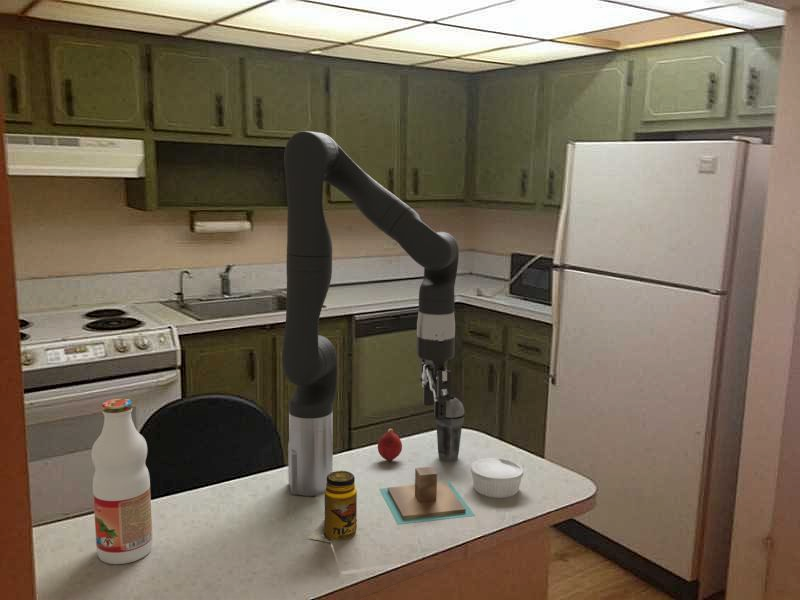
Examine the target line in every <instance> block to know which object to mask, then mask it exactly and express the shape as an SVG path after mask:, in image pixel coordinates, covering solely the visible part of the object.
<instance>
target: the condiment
mask: <svg viewBox="0 0 800 600" xmlns="http://www.w3.org/2000/svg"><path fill="white" fill-rule="evenodd" d="M355 478H356V477H355V475H354V474H353V473H352V472H350V471H346V470H336V471H333V472H332V473H330V474H329V475H328V476H327V479H326V480H327V484H326V489H325V492H324V519H323V521H321V523H320V525H318V527H317V528H316V529H315V530H314V532H312V533H311V535H309V537H308V538H307V539H308V540H314V541H320V542H326V543H330V544H333V540H335V541H343V540H349V539H351V538H353V537H354V536H355V535H356V533H357V530H358V529H357V527H358V526H357V525H358V524H357V522H358V519H357V516H358V513H357V512H358V511H357V510H358V509H357V508H358V507H357V504H358V502H357V500H358V498H357V497H358V494H357V493H358V490H357V488H356V482H355ZM323 535H324V536H323Z"/></svg>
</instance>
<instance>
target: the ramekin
mask: <svg viewBox="0 0 800 600" xmlns="http://www.w3.org/2000/svg"><path fill="white" fill-rule="evenodd" d="M470 465H471V466H470V472H471V475H472V484H473V488H474V490H475V491H476V492H477V493H479V494H480V495H483V496H486V497H490V498H496V499H498V498H499V499H501V498H503V499H504V498H509V497H513V496H515V495H516V494H517V493H518V492H519V489H520V486H521V481H522V478H523V477H524V468H522V466H521V465H520V464H518V463H517V462H514V461H512V460H509V459H504V458H499V457H498V458H497V457H487V458H481V459H478V460H475V461H474V462H472V463H471V464H470Z"/></svg>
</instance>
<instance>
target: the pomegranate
mask: <svg viewBox="0 0 800 600" xmlns="http://www.w3.org/2000/svg"><path fill="white" fill-rule="evenodd" d="M402 443H403V442H402V440H401V438H400V437H399V435H397V434H396V433H395V432H394V430H393V429H392V428H389V429H388V430H387V431H386V433H383V435H381V436H380V438H379V440H378V442H377V450H378V454H379V455H380V457H382V458H383V459H384V460H385V461H387V462H392V461H393V460H395V459H396V458H397V457H398V456H400V454H401V453H402V450H403V444H402Z"/></svg>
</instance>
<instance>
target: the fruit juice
mask: <svg viewBox="0 0 800 600" xmlns="http://www.w3.org/2000/svg"><path fill="white" fill-rule="evenodd" d="M133 407H134V406H133V401H132V400H131V399H128V398H114V399H113V398H112V399H108V400H105V401H104V402H103V403H102V404H101V410H102V414H103V415H104V420H103V421H104V422H103V425H102V426H103V427H102V430H101V432H100V435H99V436H98V438H97V439H96V440H95V442H94V443H93V446H92V447H91V459H92V460H91V461H92V463H93V466H94V468H95V472H94V475H93V478H92V496H93V512H94V527H95V541H96V542H95V543H96V553H97V556H98V558H99V560H100V561H102V562H103V563H106V564H110V565H124V564H129V563H133V562H136V561H138V560H141V559H143V558H144V557H146V556H147V555H148V554H149V553H150V552H151V550H152V548H153V545H154V544H153V541H154V539H153V522H152V519H153V518H152V503H151V502H152V499H151V498H152V497H151V496H152V495H151V482H150V481H151V478H150V472H149V469H148V467H147V465H146V460H147V456H148V444H147V441H146V439H145V437H144V436H143V435H142V434H141V433H140V432H139V431H138V430H137V429H136V427H135V424H134V421H133V418H132V411H133Z"/></svg>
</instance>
